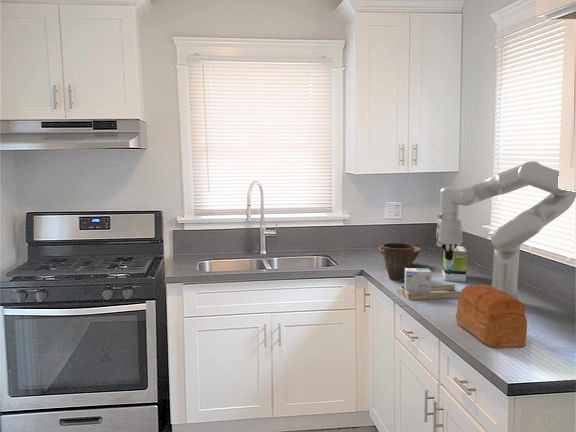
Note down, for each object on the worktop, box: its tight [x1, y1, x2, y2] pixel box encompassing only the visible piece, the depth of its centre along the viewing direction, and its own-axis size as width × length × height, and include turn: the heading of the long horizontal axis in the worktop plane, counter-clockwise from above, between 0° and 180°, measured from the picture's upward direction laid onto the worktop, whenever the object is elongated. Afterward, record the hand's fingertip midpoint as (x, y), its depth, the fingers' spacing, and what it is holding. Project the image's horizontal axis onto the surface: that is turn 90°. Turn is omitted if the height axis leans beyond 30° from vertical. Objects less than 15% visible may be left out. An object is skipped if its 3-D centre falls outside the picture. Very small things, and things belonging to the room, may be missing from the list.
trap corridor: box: [397, 284, 461, 301], centre depth 230 cm, size 12×26×2 cm, turn 100°
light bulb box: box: [403, 267, 432, 293], centre depth 229 cm, size 11×7×11 cm, turn 83°
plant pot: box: [382, 242, 415, 281], centre depth 258 cm, size 15×15×16 cm
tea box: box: [441, 245, 468, 283], centre depth 261 cm, size 15×10×15 cm
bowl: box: [378, 245, 421, 264], centre depth 285 cm, size 22×23×10 cm
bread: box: [455, 283, 528, 349], centre depth 180 cm, size 14×27×15 cm, turn 7°
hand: (448, 259), depth 229 cm, fingers closed
